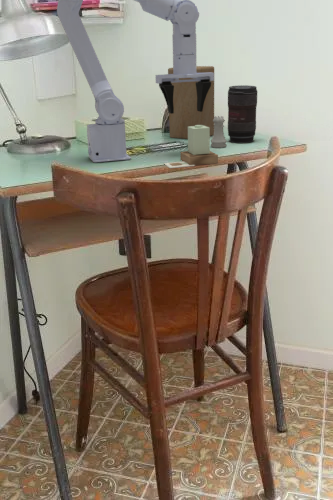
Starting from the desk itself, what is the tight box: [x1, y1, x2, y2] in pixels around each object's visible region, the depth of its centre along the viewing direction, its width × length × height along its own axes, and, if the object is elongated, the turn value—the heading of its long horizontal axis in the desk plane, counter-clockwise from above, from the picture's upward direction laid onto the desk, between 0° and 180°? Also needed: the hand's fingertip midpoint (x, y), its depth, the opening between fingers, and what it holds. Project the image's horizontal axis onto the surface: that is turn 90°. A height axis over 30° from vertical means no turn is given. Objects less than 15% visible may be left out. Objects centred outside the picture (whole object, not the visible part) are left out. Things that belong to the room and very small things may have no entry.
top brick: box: [187, 125, 211, 155], centre depth 127 cm, size 4×4×6 cm
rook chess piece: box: [210, 115, 228, 149], centre depth 145 cm, size 4×4×8 cm
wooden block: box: [167, 65, 215, 140], centre depth 160 cm, size 10×10×20 cm
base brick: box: [179, 150, 219, 166], centre depth 129 cm, size 7×7×2 cm
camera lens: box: [227, 84, 258, 144], centre depth 151 cm, size 8×8×15 cm
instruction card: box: [163, 161, 196, 169], centre depth 126 cm, size 6×5×1 cm
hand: (185, 112), depth 135 cm, fingers open, 7 cm apart
